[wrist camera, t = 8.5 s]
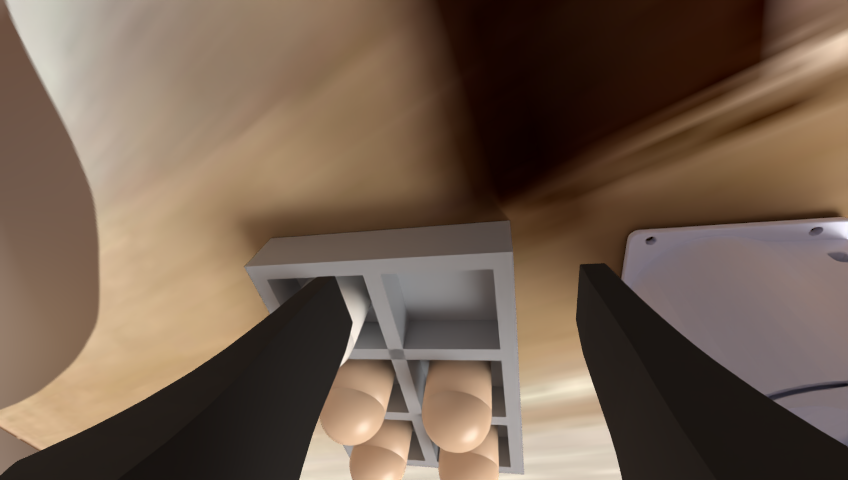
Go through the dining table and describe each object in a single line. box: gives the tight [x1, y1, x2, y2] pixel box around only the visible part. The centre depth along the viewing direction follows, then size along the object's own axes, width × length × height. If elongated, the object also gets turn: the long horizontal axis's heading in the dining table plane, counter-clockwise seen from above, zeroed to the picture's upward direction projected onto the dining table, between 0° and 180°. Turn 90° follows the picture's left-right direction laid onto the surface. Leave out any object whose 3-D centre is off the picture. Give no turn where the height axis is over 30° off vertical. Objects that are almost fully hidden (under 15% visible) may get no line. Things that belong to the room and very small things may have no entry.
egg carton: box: [244, 221, 524, 480], centre depth 24 cm, size 15×22×7 cm
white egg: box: [301, 275, 372, 368], centre depth 21 cm, size 4×4×6 cm
